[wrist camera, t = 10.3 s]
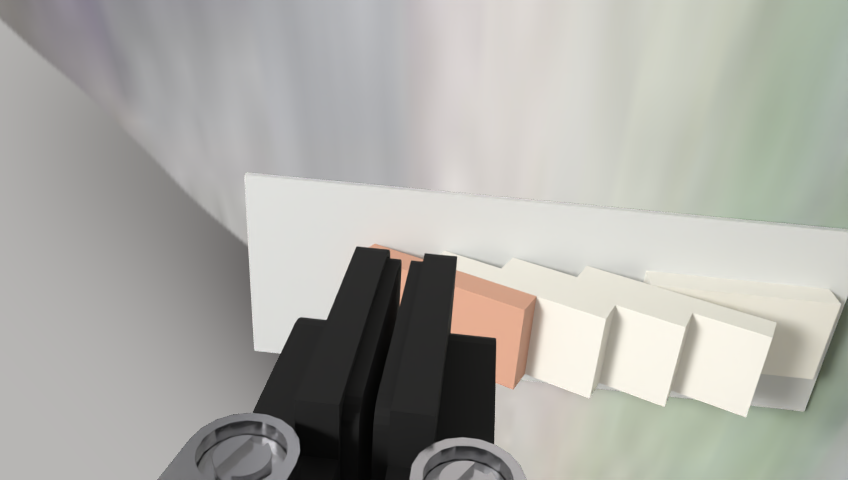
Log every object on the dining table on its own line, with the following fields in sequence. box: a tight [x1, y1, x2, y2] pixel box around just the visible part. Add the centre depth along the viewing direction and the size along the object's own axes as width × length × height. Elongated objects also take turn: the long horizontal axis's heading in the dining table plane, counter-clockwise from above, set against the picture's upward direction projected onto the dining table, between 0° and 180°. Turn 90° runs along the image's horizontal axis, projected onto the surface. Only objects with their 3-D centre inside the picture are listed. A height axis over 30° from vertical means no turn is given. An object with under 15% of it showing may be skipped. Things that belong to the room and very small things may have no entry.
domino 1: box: [369, 244, 537, 389], centre depth 40 cm, size 2×5×10 cm
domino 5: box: [643, 271, 841, 379], centre depth 41 cm, size 2×5×10 cm
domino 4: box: [578, 266, 776, 417], centre depth 39 cm, size 2×5×10 cm
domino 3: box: [501, 258, 692, 407], centre depth 40 cm, size 2×5×10 cm
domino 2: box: [440, 251, 615, 399], centre depth 40 cm, size 2×5×10 cm
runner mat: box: [244, 172, 848, 411], centre depth 43 cm, size 34×12×1 cm, turn 86°
